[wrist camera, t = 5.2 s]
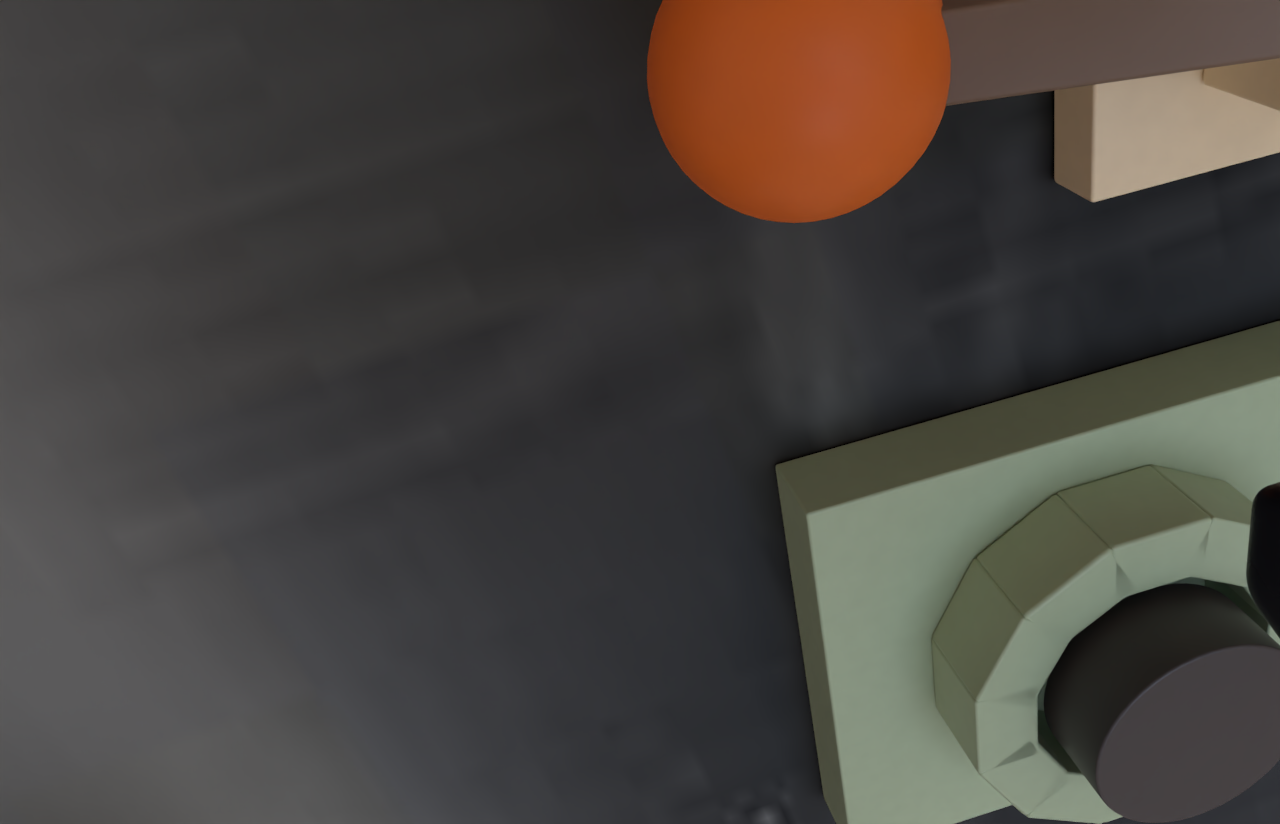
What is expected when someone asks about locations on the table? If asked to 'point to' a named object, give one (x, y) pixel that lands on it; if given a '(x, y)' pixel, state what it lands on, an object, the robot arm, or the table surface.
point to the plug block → (1012, 569)
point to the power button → (1168, 703)
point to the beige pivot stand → (1164, 127)
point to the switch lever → (895, 80)
